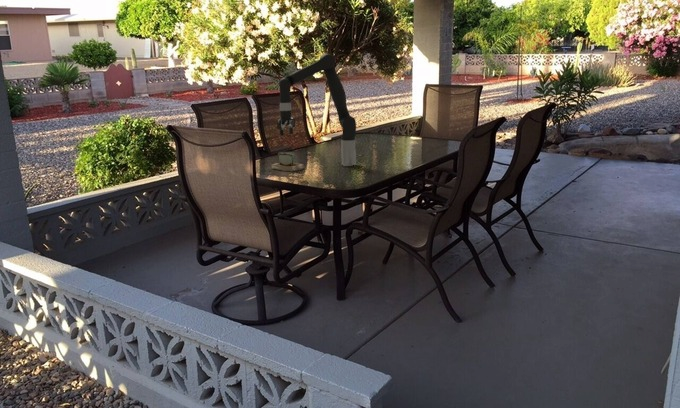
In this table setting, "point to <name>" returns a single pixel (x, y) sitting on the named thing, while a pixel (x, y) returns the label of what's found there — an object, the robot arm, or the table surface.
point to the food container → (286, 158)
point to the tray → (288, 167)
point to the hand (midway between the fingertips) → (286, 134)
